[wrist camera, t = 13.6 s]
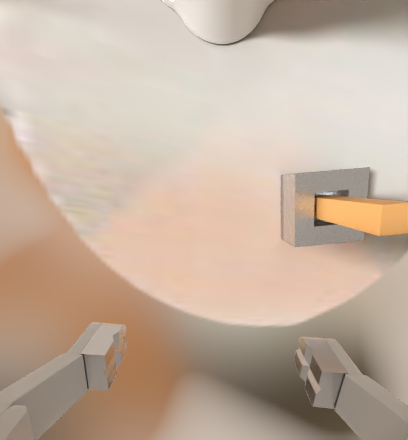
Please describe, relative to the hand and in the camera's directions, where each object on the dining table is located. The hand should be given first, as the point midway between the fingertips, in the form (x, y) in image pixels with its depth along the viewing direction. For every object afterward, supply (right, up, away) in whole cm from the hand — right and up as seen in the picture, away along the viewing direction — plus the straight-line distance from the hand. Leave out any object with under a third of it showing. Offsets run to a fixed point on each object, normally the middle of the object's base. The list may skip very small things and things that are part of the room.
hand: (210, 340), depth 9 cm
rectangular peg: (+20, +8, +26) cm, 34 cm away
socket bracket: (+20, +8, +26) cm, 34 cm away
